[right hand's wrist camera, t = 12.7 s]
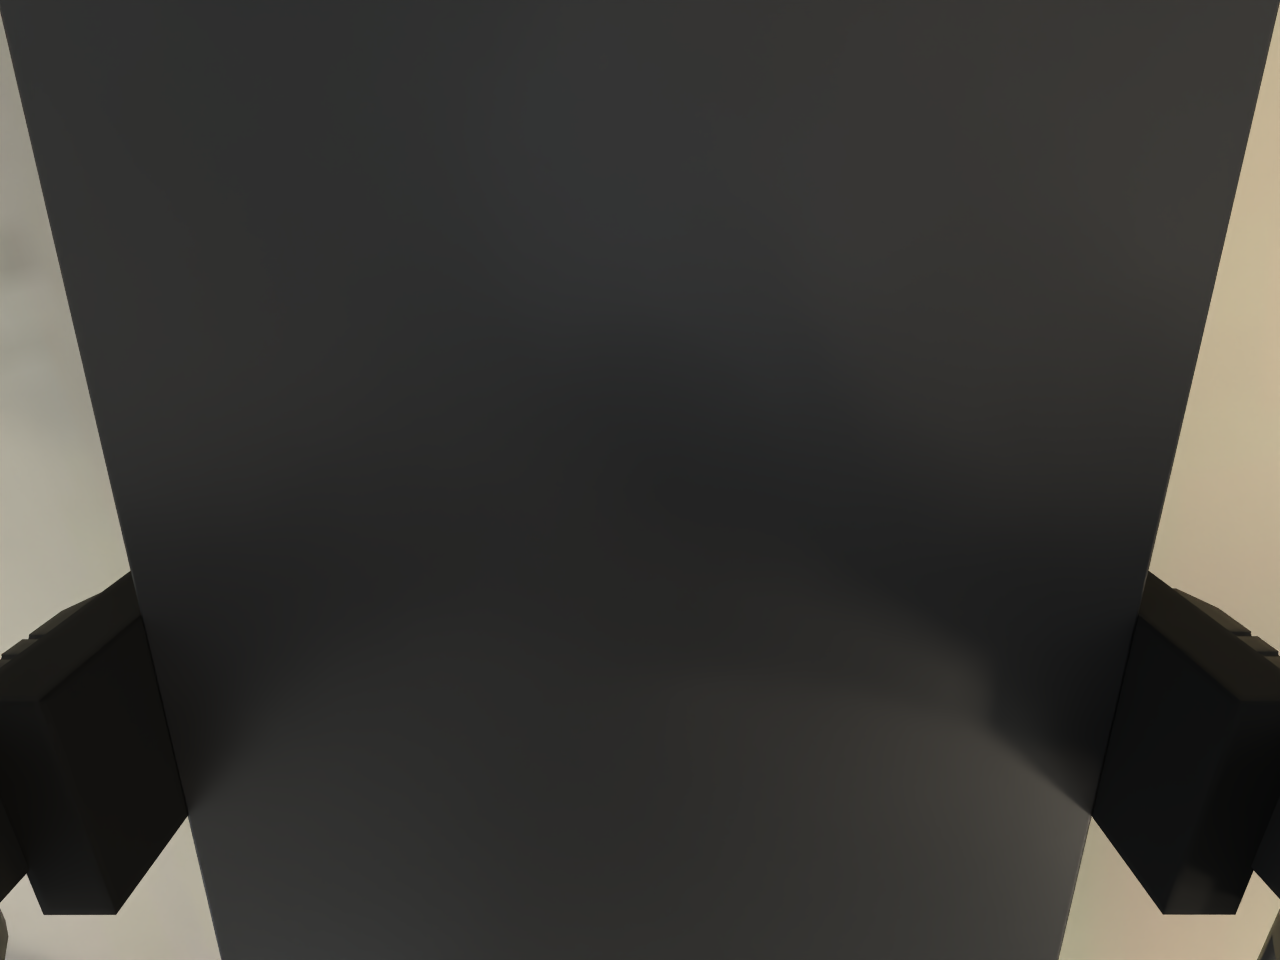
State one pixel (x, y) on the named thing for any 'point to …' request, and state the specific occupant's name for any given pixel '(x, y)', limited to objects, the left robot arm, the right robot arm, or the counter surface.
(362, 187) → the cabinet
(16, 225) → the counter surface
